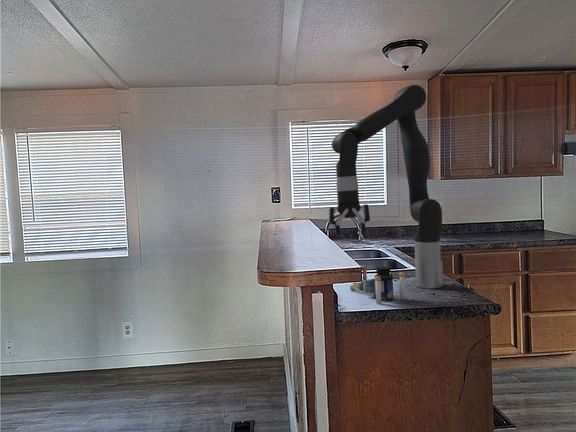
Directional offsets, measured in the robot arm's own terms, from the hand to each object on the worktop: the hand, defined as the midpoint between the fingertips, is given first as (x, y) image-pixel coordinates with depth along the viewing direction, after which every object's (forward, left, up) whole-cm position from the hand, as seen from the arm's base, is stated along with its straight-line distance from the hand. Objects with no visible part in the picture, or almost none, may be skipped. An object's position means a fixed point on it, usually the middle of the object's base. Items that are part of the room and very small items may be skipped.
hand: (350, 234), depth 161 cm
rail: (-5, +1, -22) cm, 23 cm away
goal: (-5, +15, -22) cm, 27 cm away
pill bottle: (-5, +11, -22) cm, 25 cm away
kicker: (-5, 0, -20) cm, 21 cm away
